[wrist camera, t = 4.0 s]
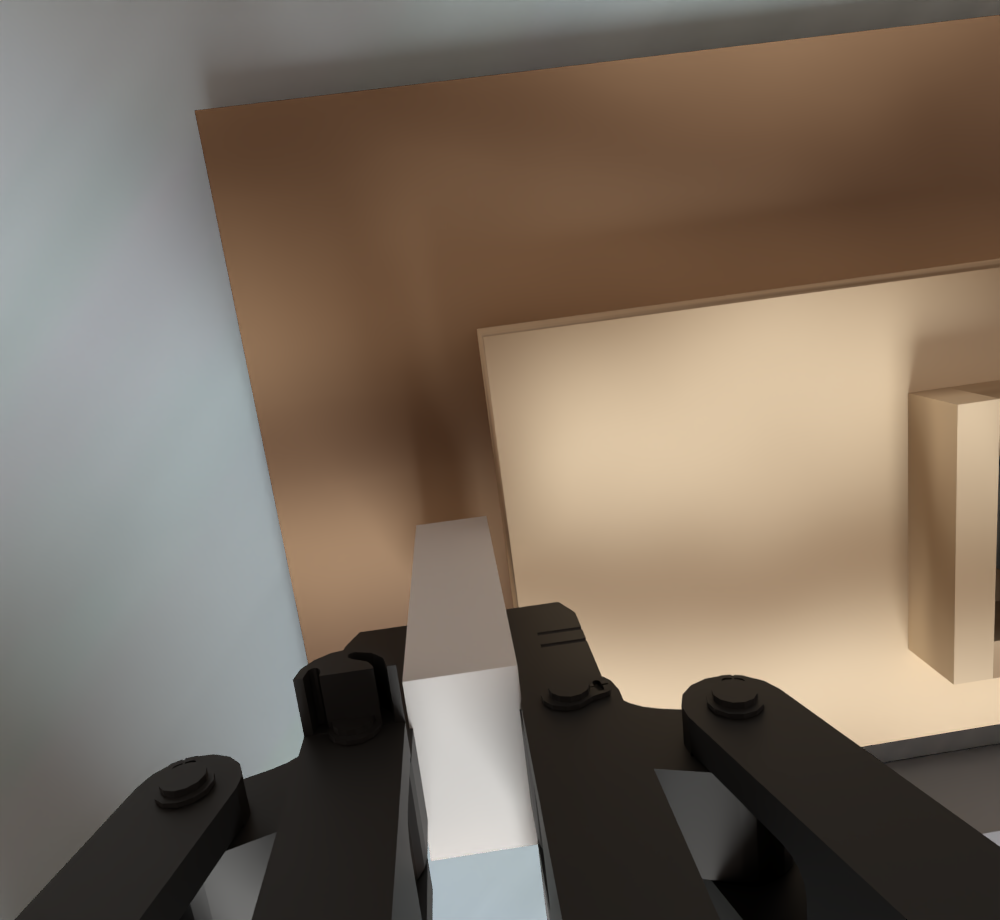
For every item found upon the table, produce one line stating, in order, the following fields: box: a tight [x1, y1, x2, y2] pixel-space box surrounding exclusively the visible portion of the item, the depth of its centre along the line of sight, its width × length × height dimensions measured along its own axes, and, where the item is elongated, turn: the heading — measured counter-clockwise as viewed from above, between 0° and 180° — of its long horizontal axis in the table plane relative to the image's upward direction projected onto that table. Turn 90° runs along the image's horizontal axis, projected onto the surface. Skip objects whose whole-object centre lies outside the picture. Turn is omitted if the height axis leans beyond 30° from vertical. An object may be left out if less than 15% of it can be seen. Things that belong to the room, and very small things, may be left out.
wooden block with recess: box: [477, 259, 1000, 747], centre depth 16 cm, size 10×14×4 cm
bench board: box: [195, 15, 1000, 664], centre depth 18 cm, size 16×26×1 cm, turn 97°
